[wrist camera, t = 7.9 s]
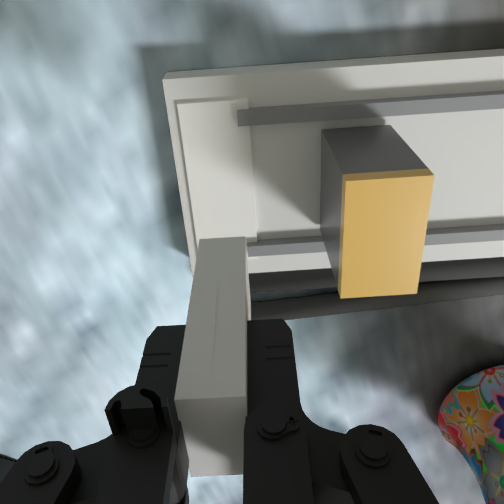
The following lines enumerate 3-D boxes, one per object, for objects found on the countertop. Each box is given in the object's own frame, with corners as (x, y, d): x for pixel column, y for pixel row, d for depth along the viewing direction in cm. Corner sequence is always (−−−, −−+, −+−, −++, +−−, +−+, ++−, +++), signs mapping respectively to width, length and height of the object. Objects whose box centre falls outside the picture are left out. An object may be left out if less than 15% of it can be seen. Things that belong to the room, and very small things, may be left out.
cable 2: (211, 319, 29) (210, 333, 28) (207, 304, 28) (206, 317, 27) (610, 272, 28) (624, 284, 27) (615, 254, 27) (630, 266, 26)
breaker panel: (194, 261, 27) (191, 283, 25) (166, 71, 21) (160, 82, 19) (669, 230, 26) (701, 250, 24) (761, 30, 21) (810, 38, 19)
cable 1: (205, 287, 27) (204, 300, 26) (203, 270, 27) (201, 282, 26) (650, 258, 27) (666, 270, 26) (658, 240, 27) (674, 251, 26)
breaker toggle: (319, 229, 24) (340, 298, 19) (321, 129, 21) (345, 181, 16) (380, 225, 24) (416, 293, 19) (390, 124, 21) (434, 175, 16)
